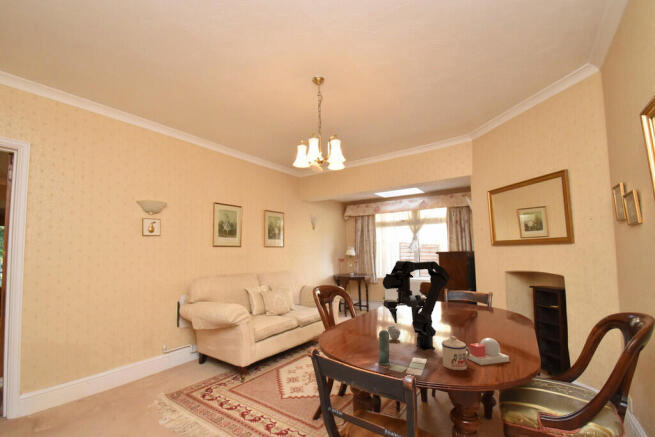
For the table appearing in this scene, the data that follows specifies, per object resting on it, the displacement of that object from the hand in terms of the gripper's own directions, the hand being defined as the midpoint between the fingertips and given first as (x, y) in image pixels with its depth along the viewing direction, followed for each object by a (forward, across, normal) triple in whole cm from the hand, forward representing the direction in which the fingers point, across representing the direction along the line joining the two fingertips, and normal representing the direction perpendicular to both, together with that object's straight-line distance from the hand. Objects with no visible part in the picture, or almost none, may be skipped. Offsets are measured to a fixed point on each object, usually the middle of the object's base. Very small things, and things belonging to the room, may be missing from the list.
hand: (405, 322), depth 137 cm
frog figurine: (+13, +4, +19) cm, 23 cm away
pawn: (+12, -17, -12) cm, 24 cm away
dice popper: (+13, +28, -17) cm, 35 cm away
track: (+13, -9, -17) cm, 23 cm away
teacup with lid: (+13, +11, -21) cm, 27 cm away
